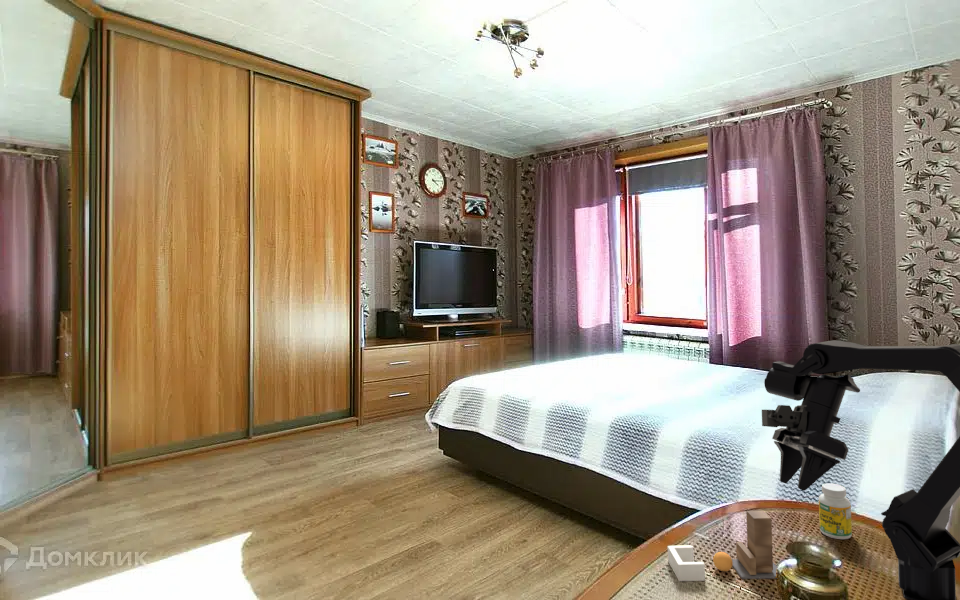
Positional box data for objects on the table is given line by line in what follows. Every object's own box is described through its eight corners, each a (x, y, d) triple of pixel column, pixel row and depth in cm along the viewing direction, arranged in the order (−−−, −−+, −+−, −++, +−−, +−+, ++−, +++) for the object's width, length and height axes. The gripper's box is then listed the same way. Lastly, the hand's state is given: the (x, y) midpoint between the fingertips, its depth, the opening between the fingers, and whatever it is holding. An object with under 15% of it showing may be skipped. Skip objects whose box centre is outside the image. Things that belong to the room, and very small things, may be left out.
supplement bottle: (856, 534, 103) (855, 487, 103) (845, 543, 100) (844, 495, 100) (826, 524, 108) (824, 479, 107) (814, 532, 105) (813, 486, 104)
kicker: (761, 557, 96) (759, 507, 95) (776, 574, 90) (775, 521, 90) (736, 557, 96) (734, 507, 96) (750, 574, 90) (748, 522, 90)
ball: (734, 568, 94) (733, 551, 94) (730, 577, 91) (730, 559, 91) (715, 563, 96) (715, 546, 96) (711, 571, 93) (711, 554, 93)
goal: (692, 560, 97) (691, 545, 97) (705, 580, 91) (704, 564, 90) (668, 561, 97) (667, 545, 97) (679, 581, 91) (678, 564, 91)
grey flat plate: (769, 560, 96) (769, 558, 96) (785, 578, 90) (785, 575, 90) (728, 561, 96) (728, 559, 96) (741, 578, 91) (741, 576, 91)
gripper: (759, 390, 107) (733, 461, 105) (792, 386, 89) (761, 471, 87) (817, 413, 104) (791, 486, 102) (862, 414, 86) (832, 502, 84)
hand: (791, 485), depth 94 cm, fingers open, 9 cm apart
